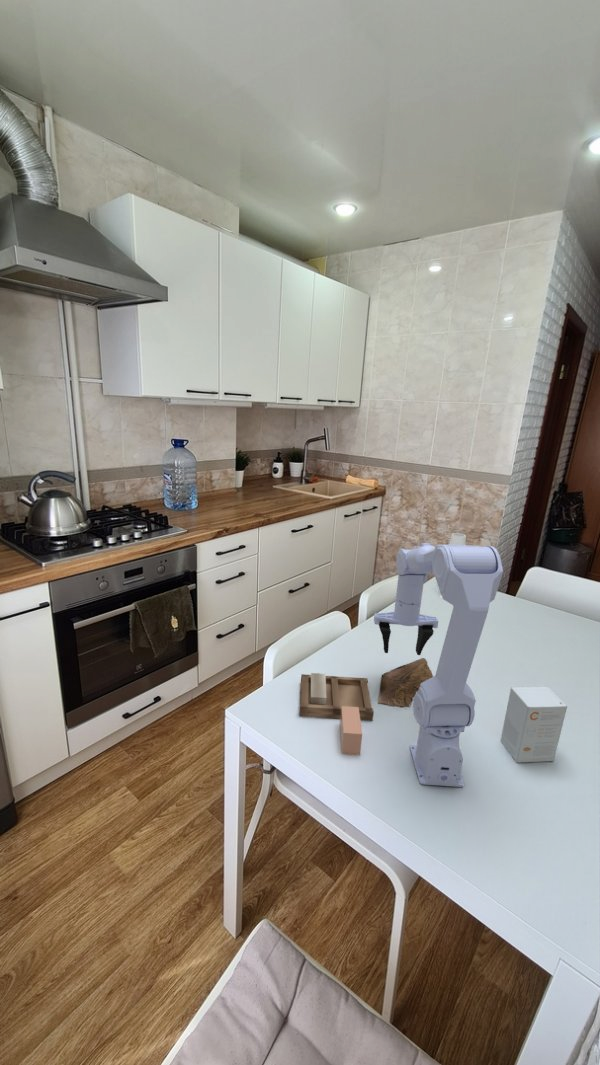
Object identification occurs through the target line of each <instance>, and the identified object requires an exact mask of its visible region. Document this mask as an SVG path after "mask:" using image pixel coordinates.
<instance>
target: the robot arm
mask: <svg viewBox="0 0 600 1065" xmlns="http://www.w3.org/2000/svg"><path fill="white" fill-rule="evenodd" d="M395 559H396V561H395V566H396V570H397V574H398V576H397V585H396V586H397V587H396V594H395V603H394V609H393V610H394V611H391V612H381V613H379V612H378V613H377V612H375V613H374V616H373V623H374V625H377V626H378V627H379V629H380V630H379V631H380V632H381V636H382V641H383V642H382V643H383V651H384V653H385V654H388V653H389V648H390V647H389V646H390V645H389V643H390V638H391V634H392V631H391V626H390V625H399V626H403V627H415V626H417V627H418V628H417V638H416V644H415V652H416V656H421V654H422V652H423V649H424V647H425V645H426V644H427V642H428V641H429V640H430V639H431V638H432V637H433V635H434V631H435V630H434V629H438V628H439V619H438V617H437V616H430V615H427V614H426V615H425V614H420V612H421V607H422V597H423V593H424V592H423V590H424V584H426V582H427V579H428V576H429V574H432V573H433V575H434V578H435V581H436V584H437V586H438V589H439V592H440V595H442V598H443V599H444V600H443V599H442V600H443V601H445V602H447V603H449V604H451V605H452V606H453V608H452V610H451V611H452V612H451V615H450V618H449V622H448V627H447V631H446V634H445V638H444V641H443V644H442V649H441V653H440V656H439V661H438V664H437V667H436V671H435V675H433V676H434V677H432V678H430V679H428V680H426V681H424V682H423V683H421V684H420V688H419V690H418V691H417V692H416V694H415V696H414V697H413V698H412V711H413V716H414V719H415V721H416V723H417V724H418V726H419V730H418V736H417V743H416V744H410V745H409V749H410V753H411V757H412V761H413V764H414V768H415V771H416V775H417V779H418V782H419V784H421V785H427V786H428V785H429V786H443V787H445V786H446V787H457V788H462V787H464V781H463V779H462V776H461V772H462V767H463V762H464V758H463V754H462V751H461V748H460V735H461V733H464V732H465V730H466V727H470V726H471V725H472V724H473V722H474V721H475V716H476V715H475V713H476V712H475V706H476V705H475V704H476V701H477V700H476V696H475V694H474V692H473V690H472V688H471V687H470V686H469V684H468V683H467V681H468V677H469V674H470V672H471V668H472V664H473V661H474V658H475V654H476V652H477V649H478V645H479V642H480V638H481V635H482V632H483V629H484V627H485V626H484V625H485V623H486V620H487V617H488V613H489V609H490V604H491V602H493V601H494V600H495V599H496V596H497V593H498V589H499V586H500V584H501V580H502V576H503V574H504V568H503V563H502V559H501V554H500V553H499V551H498V550H497V549H496V547H494V546H492V545H486V546H483V545H471V544H469V545H468V544H465V545H449V544H436V545H431V543H429V542H422V543H420V546H419V545H418V546H417V545H415V546H413V548H412V549H404V548H400V549H399V550H398V551H397V553H396V558H395Z"/></svg>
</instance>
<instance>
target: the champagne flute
mask: <svg viewBox="0 0 600 1065" xmlns="http://www.w3.org/2000/svg"><path fill="white" fill-rule="evenodd" d="M466 540H467V535H466V534H464V533H462V532H461V533H460V532H452V533H451V535H450V539H449V543H448V545H467V543H466V542H467V541H466ZM439 598H440V599H442V600H443V601H445V600H444V599H443V598H442V595H441V594H440V595H439Z"/></svg>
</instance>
